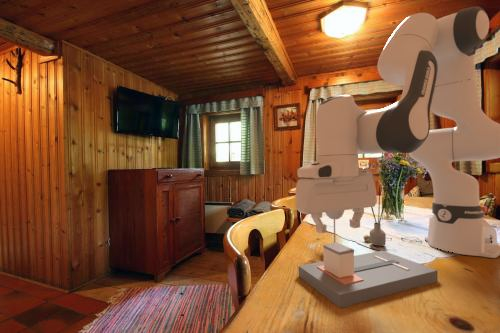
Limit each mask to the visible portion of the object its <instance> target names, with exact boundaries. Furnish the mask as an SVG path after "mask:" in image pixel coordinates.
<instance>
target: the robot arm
mask: <svg viewBox="0 0 500 333" xmlns="http://www.w3.org/2000/svg"><path fill="white" fill-rule="evenodd" d="M489 29H490V19H489V17H488V14H487V12H486V10H485V9H484V8H482V7H480V6H478V5H477V6H471V7H467V8H463V9H459V10H458V11H457V12H454V13H451V14H448V15H445V16H442V17H440V18H437V19H436V17H435V16H434V15H432V14H431V13H429V12H418V13H413V14H411V15H409V16H408V17H406V18H405V19H404V20H403V21H402V22H401V23H400V24H399V25H398V26H397V27H396V28H395V29H394V31H393V33H392V34H391V36H390V37H389V38H388V40H387V42H386V43H385V45H384V47H383V50H382V51H381V53H380V55H379V57H378V61H377V65H376V69H377V71H378V74H379V76H380V78H381V79H382V80H383V81H385V82H386V83H388V84H389V85H392V86H397V87H403V89H402V93H401V96H400V99H398V101H396V102H394V103H393V104H391V105H389V106H386V107H384V108H380V109H377V110H373V111H369V112H368V111H366V110H364V109H362V108H361V107H360V106H358V105H357V103H356V102H355V98H354V96H353V95H349V94H343V95H338V96H334V97H330V98H328V99H325V100H324V101H321V102H320V103H319V105H318V107H317V110H316V117H315V139H316V142H317V151H316V161H313V162H311V163H309V164H307V165H304V166H301V167H299V168H298V169H297V171H296V172H297V177H298V178H299V179H298V180H297V183H296V186H295V200H294V201H295V207H296V210H297V211H298V212H299V213H301V214H304V215H310V217H311V219H312V220H313V222H314V224H315V232H316V233H318V234H325V233H328V232H327V224H325V223H323V221H322V219H321V218H323V213H325V212H332V211H341V210H344V211H349V210H352V212H354V213H353V214H352V218H349V227H350V228H353V229H358V228H361V220H362V218H363V216H364V213H365V209H366V208H367V209H368V208H371V207H375V206H376V204H377V202H378V197H377V190H376V183H375V180H374V175H373V172H372V171H371V170H370V169H369V168H368V167H359V155H366V154H373V155H374V154H385V153H386V154H387V153H388V154H389V153H390V154H408V155H409V157H410V158H411V159H412V160H413V161H416V162H417V163H418V164H420V165H422V167H423V168H424V169H425V170H426V172H428V174H429V176H430V179H431V183H432V190H433V202H432V204H431V205H432V206H431V209H432V210H431V212H432V214H433V215H432V216H431V217H430V218H429V221H428V230H427V231H428V232H427V236H425V237H424V240H426V241H425V242H427V243H428V245H429V246H430V247H432V248H435V249H437V248H438V250H440V249H441V250H440V251H443V252H444V251H445V252H448V251H449V252H448V253H452V252H453V254H457V255H466V256H472V257H473V256H474V257H475V256H476V257H483V258H491V259H496V258H498V257H499V256H500V243H499V242H498V233H497V230H496V228H495V227H493V226H492V225H491V224H490V223H489V222H487V221H486V220H485V219H484V217H485V216H484V213H487V212H488V208H487V206H486V205H481V204H480V183H479V181H478V179H476V178H475V177H474V176H472V175H470V174H468V173H465V172H463V171H461V170H458V169H455V168H454V167H453V165H452V163H454V162H470V161H472V162H478V161H489V160H495V159H499V158H500V123H498V122H496V121H494V120H493V119H491V118H490V117H489V116H487V114H485V112H484V111H483V109H482V108H481V105H480V102H479V99H478V91H477V74H476V64H475V59H474V57H473V55H474V54H475V52H476V50H477V49H479V48H480V47H481V46H482V45H483V43H484V42H485V41H486V39H487V37H488V34H489ZM430 111H431V113H432V114H434V115H435V116H437V117H441V118H445V119H449V120H452V121H454V122H455V124H456V126H455V127H447V128H438V129H430V128H431V126H430V124H431V122H430V119H431V118H430V114H431V113H430Z"/></svg>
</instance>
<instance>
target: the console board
mask: <svg viewBox="0 0 500 333" xmlns="http://www.w3.org/2000/svg"><path fill="white" fill-rule="evenodd" d="M297 270H298V277H299V278H300V279H302V280H303V281H304V282H305V283H306V284H308V285H309V286H311V288H313V289H314V290H316V291H317V292H319V294H321V295H323V297H325V298H326V299H327V300H329V301H330V302H331V303H333V304H334V305H335V306H336V307H338V308H339V309H342V308H345V307H349V306H353V305H357V304H360V303H364V302H368V301H371V300H374V299H379V298H381V297H382V298H383V297H387V296H390V295H393V294H398V293H401V292H404V291H408V290H412V289H415V288H420V287H422V286H426V285H430V284H434V283H437V282H438V281H439V280H438V279H439V277H438V269H436V268H435V269H434V268H431V267H429V266H426V265H424V264H421V263H418V262H416V261H413V260H410V259H407V258H404V257H401V256H399V255H395V254H393V253H390V252H388V251H385V250H379V251H374V252H370V253H369V252H368V253H363V254H357V255H354V275H351V276H346V277H341V278H339V277H337V276H335V275H334V274H332V273H330V272H329V271H327V270H325V269H324V260H323V261H318V262H314V263H313V262H312V263H306V264H302V265H298V269H297Z"/></svg>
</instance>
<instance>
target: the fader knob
mask: <svg viewBox="0 0 500 333" xmlns="http://www.w3.org/2000/svg"><path fill="white" fill-rule="evenodd" d="M354 256H355V249H353V248H351V247H348V246H347V245H344V244H341V243H338V242H335V243H334V242H333V243H329V244H328V243H327V244H323V261H324V269H325V270H327V271H329V272H330V273H332V274H334V275H335V276H337V277H339V278H341V277H346V276H351V275H354Z"/></svg>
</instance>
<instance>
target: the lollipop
mask: <svg viewBox="0 0 500 333" xmlns="http://www.w3.org/2000/svg"><path fill="white" fill-rule="evenodd" d="M324 213H325V215H326V216H327V217H328V218H329V219H331V220H333V243H336V220H339V219H341V218H342V217H343V215H344V213H345V210H341V211H332V212H324Z"/></svg>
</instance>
